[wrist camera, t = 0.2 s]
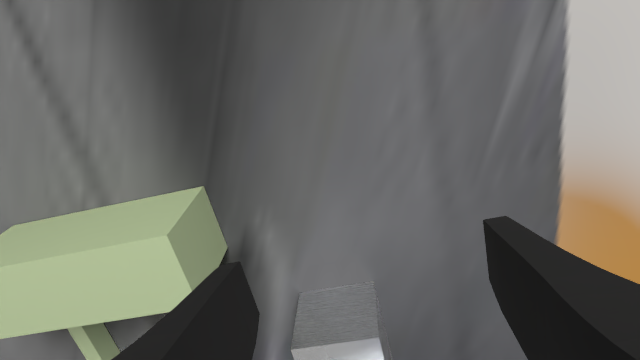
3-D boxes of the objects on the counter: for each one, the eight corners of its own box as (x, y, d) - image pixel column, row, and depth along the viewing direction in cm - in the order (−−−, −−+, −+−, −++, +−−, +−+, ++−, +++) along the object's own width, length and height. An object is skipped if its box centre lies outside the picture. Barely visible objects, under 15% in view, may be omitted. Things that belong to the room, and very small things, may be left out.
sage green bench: (263, 338, 27) (245, 409, 22) (97, 361, 29) (49, 431, 24) (203, 186, 22) (166, 235, 18) (13, 225, 24) (-64, 279, 20)
